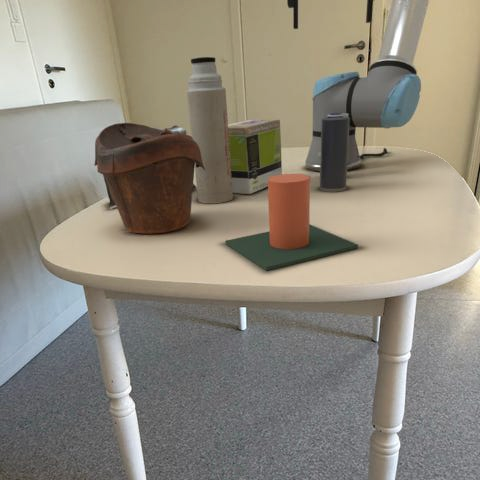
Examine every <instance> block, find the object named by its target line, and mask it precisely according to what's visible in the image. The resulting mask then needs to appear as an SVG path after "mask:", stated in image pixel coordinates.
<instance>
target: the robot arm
mask: <svg viewBox="0 0 480 480" xmlns="http://www.w3.org/2000/svg"><path fill="white" fill-rule="evenodd" d="M373 1H374V0H366V14H365V15H366V16H365V24H370V23H371V22H372V20H373V19H372V18H373V4H374V3H373ZM286 3H287V4H286V5H287V7H288V9H292V10H293V16H292V17H293V18H292V19H293V20H292V21H293V22H292V26H293V29H294V30H298V29H299V0H287V2H286ZM429 3H430V0H391V3H390V9H389V11H388V12H389V13H388V16H387V19H386V20H387V21H386V25H385V29H384V32H383V36H382V41H381V45H380V49H379V53H378V57H377V59H376V61H373V62H372V63H371V64H370V65H369V68H368V71H367V76H364V77H360V73H359V71H350V72H344V73H338V74H333V75H329V76H325V77H321V78H318V79H317V80H316V81H315V82H314V84H313V91H312V92H313V93H312V94H313V95H312V98H311V100H312V139H311V143H310V146H309V149H308V152H307V156H306V159H305V169H306V170H308V171H312V172H320V162H321V123H322V119H324V118H328V116H327V115H329V114H336V113H341V114H349V115H348V117H349V118H350V123H349V142H348V161H347V171H352V170H356V169H358V168H360V167H361V160H364V159H365V158H368V157H369V158H371V157H372V158H379V157H383V156H385V155H386V154H388V150H387V147H384V148H383V150H382V152H380V153H361V154H360V152H359V148H358V145H357V144H358V143H357V140H356V130H357V129H356V128H371V129H372V128H373V129H374V128H375V129H376V128H378V129H391V128H400V127H404V126H406V125H407V123H409V122H410V121H411V119H412V118H413V116H414V115H415V112H416V110H417V107H418V105H419V102H420V97H421V95H420V93H421V90H422V81H421V78H420V77H419V75H418V70H417V68H416V66H414V61H415V57H416V54H417V50H418V45H419V42H420V38H421V34H422V30H423V26H424V22H425V18H426V15H427V11H428V8H429V7H428V6H429Z"/></svg>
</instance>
